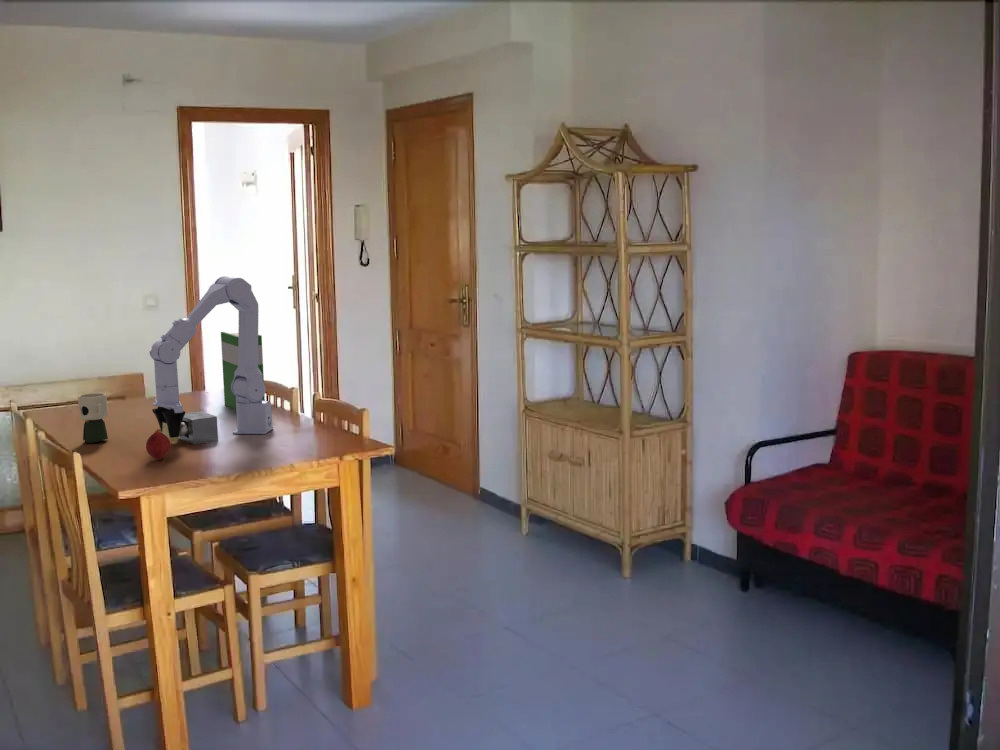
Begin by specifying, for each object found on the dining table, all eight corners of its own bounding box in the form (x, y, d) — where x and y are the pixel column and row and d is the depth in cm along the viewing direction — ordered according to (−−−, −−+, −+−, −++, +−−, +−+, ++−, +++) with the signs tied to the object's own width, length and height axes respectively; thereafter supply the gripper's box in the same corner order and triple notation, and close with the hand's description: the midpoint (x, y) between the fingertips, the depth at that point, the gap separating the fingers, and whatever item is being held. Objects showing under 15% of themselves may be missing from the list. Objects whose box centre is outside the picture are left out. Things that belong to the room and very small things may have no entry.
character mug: (75, 440, 268) (71, 394, 266) (101, 436, 273) (97, 391, 271) (90, 447, 260) (86, 399, 258) (116, 443, 265) (113, 395, 263)
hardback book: (224, 405, 318) (220, 332, 314) (247, 402, 322) (243, 330, 318) (242, 414, 303) (238, 337, 299) (265, 411, 307) (261, 335, 303)
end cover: (192, 434, 269) (191, 417, 268) (199, 437, 266) (198, 419, 265) (162, 439, 264) (161, 421, 263) (169, 442, 260) (168, 424, 259)
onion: (157, 464, 241) (155, 432, 240) (142, 461, 244) (139, 430, 243) (176, 459, 246) (174, 428, 245) (161, 456, 249) (159, 425, 248)
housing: (202, 435, 274) (201, 411, 273) (218, 440, 266) (216, 416, 265) (178, 438, 269) (176, 414, 268) (193, 444, 262) (192, 420, 261)
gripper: (141, 384, 263) (145, 433, 265) (162, 390, 252) (166, 442, 254) (167, 381, 268) (170, 429, 270) (189, 387, 257) (192, 438, 259)
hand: (170, 435), depth 263 cm, fingers closed on end cover, 5 cm apart
